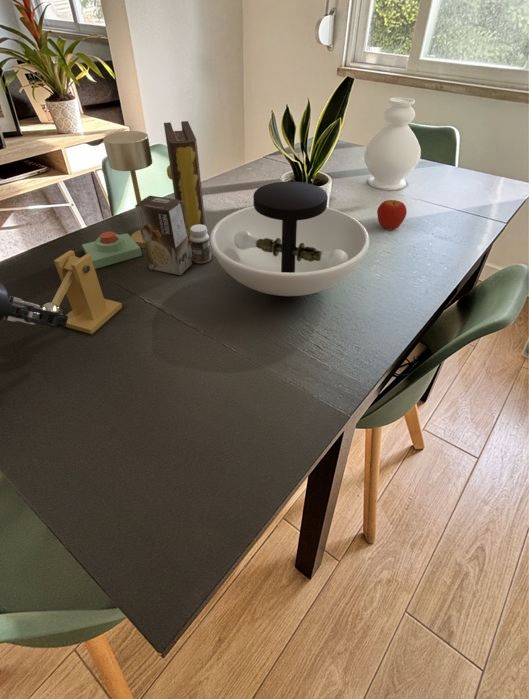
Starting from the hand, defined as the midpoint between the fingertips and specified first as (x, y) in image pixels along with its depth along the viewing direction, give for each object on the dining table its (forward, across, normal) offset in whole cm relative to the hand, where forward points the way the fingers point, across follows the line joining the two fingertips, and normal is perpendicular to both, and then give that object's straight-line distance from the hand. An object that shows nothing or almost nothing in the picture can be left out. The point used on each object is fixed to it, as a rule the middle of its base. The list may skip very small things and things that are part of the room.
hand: (47, 316), depth 78 cm
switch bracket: (+12, 0, -2) cm, 12 cm away
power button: (+26, +13, -21) cm, 36 cm away
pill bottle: (+33, -10, -23) cm, 41 cm away
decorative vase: (+82, -44, -72) cm, 117 cm away
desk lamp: (+35, +9, -26) cm, 44 cm away
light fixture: (+30, -34, -20) cm, 50 cm away
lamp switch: (+4, 0, -5) cm, 6 cm away
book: (+44, +2, -34) cm, 56 cm away
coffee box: (+29, -4, -19) cm, 35 cm away
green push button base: (+28, +13, -19) cm, 36 cm away
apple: (+58, -50, -48) cm, 90 cm away
